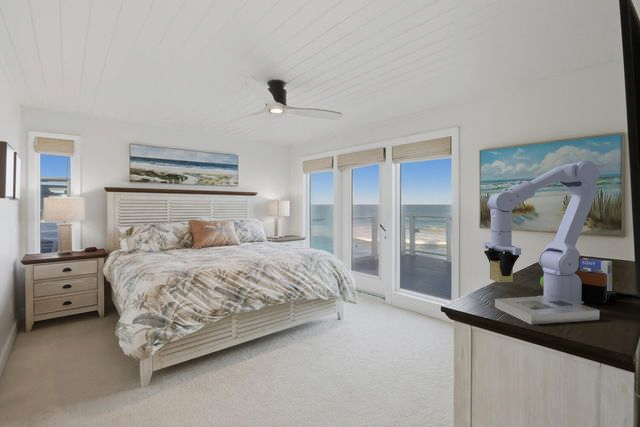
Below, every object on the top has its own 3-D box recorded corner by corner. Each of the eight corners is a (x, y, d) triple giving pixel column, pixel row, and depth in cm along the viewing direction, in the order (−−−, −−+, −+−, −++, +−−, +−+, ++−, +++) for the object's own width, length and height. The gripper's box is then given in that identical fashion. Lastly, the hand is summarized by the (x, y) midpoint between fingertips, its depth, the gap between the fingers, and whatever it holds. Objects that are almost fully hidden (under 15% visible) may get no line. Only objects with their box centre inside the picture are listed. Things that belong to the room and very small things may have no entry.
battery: (604, 305, 97) (604, 272, 96) (576, 300, 102) (576, 269, 102) (607, 302, 100) (607, 270, 99) (579, 297, 105) (579, 267, 105)
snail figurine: (552, 287, 117) (552, 254, 117) (561, 292, 111) (561, 258, 110) (536, 287, 118) (536, 254, 118) (543, 291, 112) (544, 257, 112)
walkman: (579, 292, 110) (579, 257, 110) (583, 291, 112) (583, 257, 111) (608, 298, 104) (608, 261, 103) (612, 296, 105) (612, 260, 104)
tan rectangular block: (502, 278, 103) (502, 259, 103) (512, 281, 99) (512, 262, 99) (489, 279, 103) (489, 260, 103) (499, 282, 98) (499, 262, 98)
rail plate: (554, 303, 99) (554, 295, 99) (599, 319, 85) (599, 309, 85) (494, 307, 97) (494, 298, 96) (531, 324, 83) (531, 314, 83)
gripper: (475, 229, 107) (475, 270, 108) (505, 233, 93) (505, 280, 93) (494, 229, 108) (494, 269, 108) (527, 232, 94) (527, 279, 94)
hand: (501, 274), depth 101 cm, fingers closed on tan rectangular block, 4 cm apart
